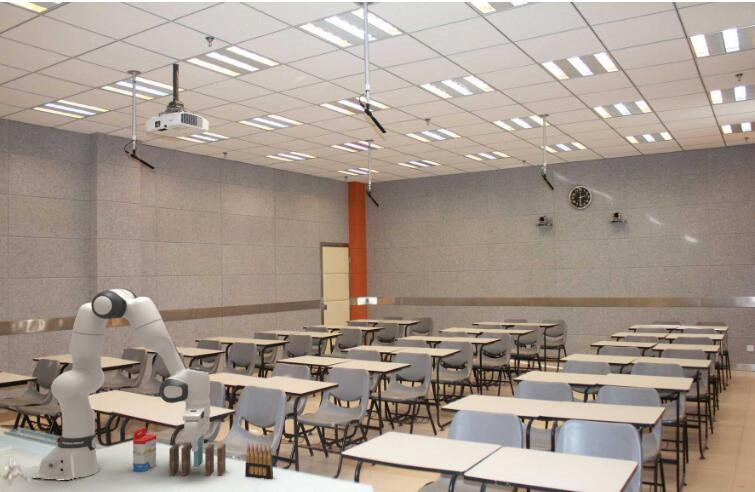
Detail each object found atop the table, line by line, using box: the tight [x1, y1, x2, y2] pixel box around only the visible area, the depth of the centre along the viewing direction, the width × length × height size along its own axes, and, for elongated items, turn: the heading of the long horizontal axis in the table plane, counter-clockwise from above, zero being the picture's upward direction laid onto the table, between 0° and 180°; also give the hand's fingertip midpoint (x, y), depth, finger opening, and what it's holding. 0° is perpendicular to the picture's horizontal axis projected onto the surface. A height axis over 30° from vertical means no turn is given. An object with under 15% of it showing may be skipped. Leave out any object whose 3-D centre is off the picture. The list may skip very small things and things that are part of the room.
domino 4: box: [204, 443, 215, 477], centre depth 235 cm, size 2×6×10 cm, turn 0°
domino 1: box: [168, 443, 180, 477], centre depth 235 cm, size 2×6×10 cm, turn 0°
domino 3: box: [193, 436, 204, 468], centre depth 235 cm, size 2×6×10 cm, turn 0°
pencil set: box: [244, 442, 274, 480], centre depth 230 cm, size 11×2×12 cm, turn 70°
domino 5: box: [216, 443, 227, 477], centre depth 235 cm, size 2×6×10 cm, turn 0°
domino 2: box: [180, 443, 192, 477], centre depth 235 cm, size 2×6×10 cm, turn 0°
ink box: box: [132, 426, 157, 473], centre depth 242 cm, size 8×5×15 cm, turn 168°
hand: (198, 448), depth 235 cm, fingers closed on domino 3, 6 cm apart
